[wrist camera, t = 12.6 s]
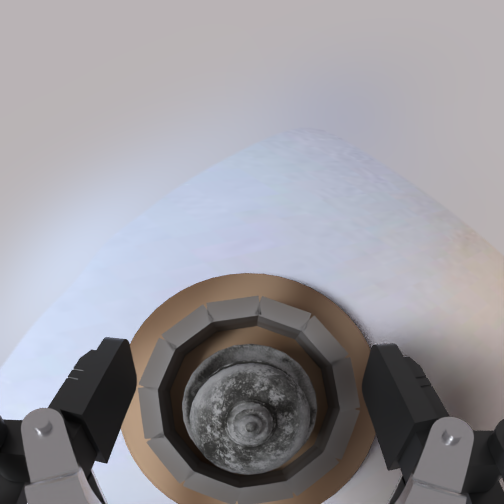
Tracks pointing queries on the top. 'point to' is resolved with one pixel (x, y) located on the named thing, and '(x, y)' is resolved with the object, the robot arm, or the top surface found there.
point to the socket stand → (238, 333)
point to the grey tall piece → (249, 408)
